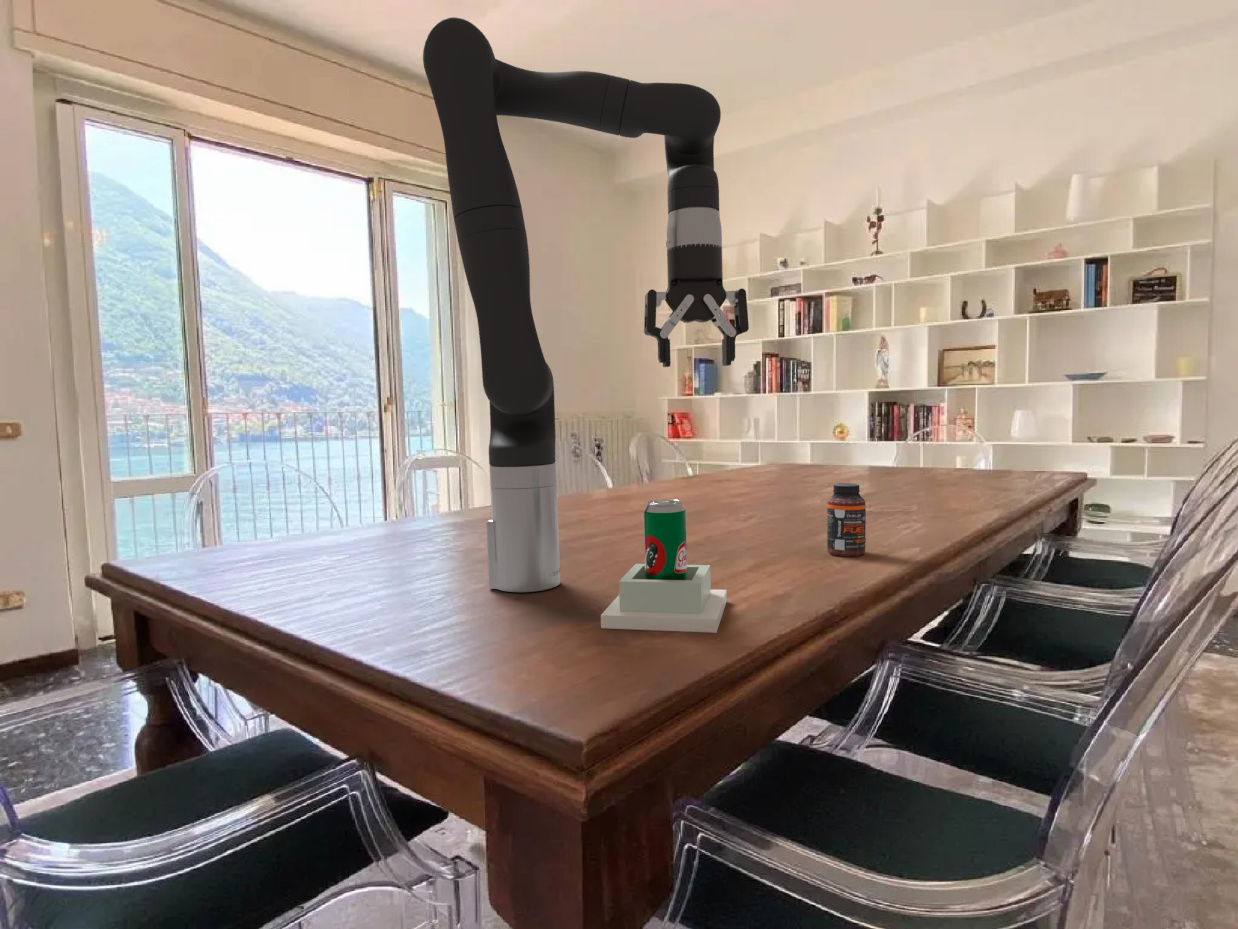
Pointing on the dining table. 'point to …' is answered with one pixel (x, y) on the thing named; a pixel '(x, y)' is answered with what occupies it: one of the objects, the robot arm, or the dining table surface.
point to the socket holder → (666, 603)
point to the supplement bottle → (846, 521)
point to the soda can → (665, 540)
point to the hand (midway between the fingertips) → (697, 366)
